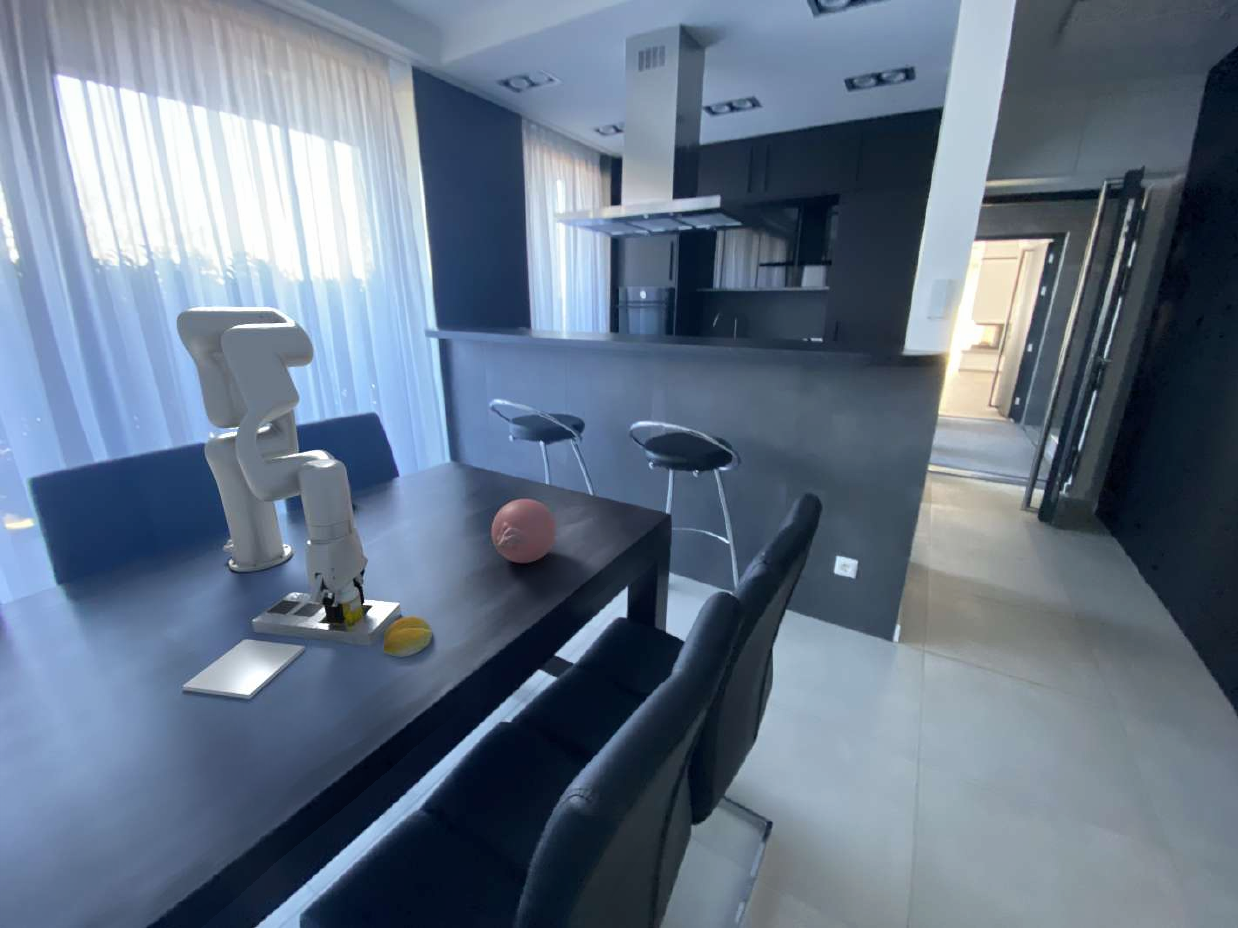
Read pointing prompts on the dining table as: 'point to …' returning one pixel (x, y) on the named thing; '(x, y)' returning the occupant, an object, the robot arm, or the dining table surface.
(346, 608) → the supplement bottle
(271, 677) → the plate
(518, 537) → the balloon
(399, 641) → the bread roll
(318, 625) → the grey board with squares
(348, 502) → the robot arm
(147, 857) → the dining table surface
